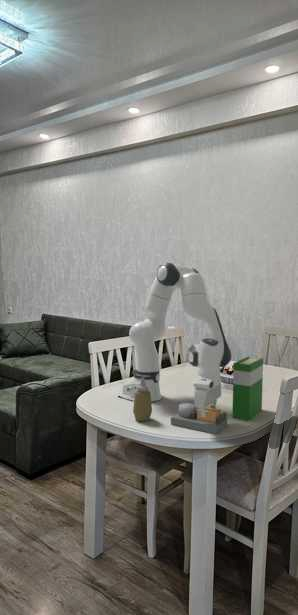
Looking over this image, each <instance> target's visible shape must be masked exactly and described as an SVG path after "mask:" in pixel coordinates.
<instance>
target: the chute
mask: <svg viewBox="0 0 298 615" xmlns="http://www.w3.org/2000/svg"><path fill="white" fill-rule="evenodd" d="M196 410H197V419H198V420H203V421H208V422H213V423H216V422H217V418H218V417H219V416H220V414H221V409H218V408H215V409H214V408H210V407H208V406H207V407H206V412H207V416H206V417H202V416H201V410H200V409H198V408H197V409H196Z"/></svg>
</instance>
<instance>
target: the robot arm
mask: <svg viewBox="0 0 298 615" xmlns="http://www.w3.org/2000/svg"><path fill="white" fill-rule="evenodd" d="M176 289H180V294H181V295H180V296H181V304H182V308H183V310H184V312H185V313H186V314H187V315H188V316H189V317H192V318H194V319H197V320H199V321H202V322H204V323H206V325H207V326H208V328H209V329H210V333H211V335H212V338H203V339H201V340H200V341H199V343H197V344H193V345H191V346H190V347H189V349H188V350H187V361H188V363H189V364H190V366H192V367H195V368H198V375H197V376H196V379H195V380H194V382H193V388H194V398H193V399H194V405H195V406H196V408H197V409H198V408H200V410H201V416H202V417H206V416H207V412H206V407H208V406H209V405H210V406H209V408H214V409H216V405H217V401H218V399H219V398H221V396H222V381H221V369H220V368H226V367H227V366H228V365H229V363H230V362H231V361H232V351H231V348H230V347H229V344H228V342H227V340H226V336H225V333H224V330H223V326H222V323H221V320H220V317H219V314H218V311H217V310H216V308H214V307H212V305H211V304H210V302H209V300H208V295H207V291H206V290H207V289H206V285H205V282H204V279H203V276H202V275H201V274H200V272H199V271H198V270H197V269H195V268H194V267H191V266H188V265H184V264H177V263H171V262H164V263H161V264H160V265H159V267H158V268H157V270H156V277H155V278H154V280H153V282H152V284H151V287H150V289H149V292H148V295H147V298H146V301H145V304H144V309H145V318H144V320H143V321H139V322H135V324H133V325H132V326H131V327H130V329H129V333H128V335H129V339H130V340H131V342H132V343H133V346H134V348H135V354H136V369H134V370H133V371H132V373H131V374H133V376H132V377H131V378H129V379H128V380H127V381H125V383H124V384H123V385H122V390H121V391H120V392H118V393H117V397H118V396H120V397H122V398H121V399H124V398H125V400H127V399H129V400H128V401H131V400H132V402H134V398H135V392H136V391H138V390H137V386H139V385H140V382H141V378H144V379H145V384H146V385H147V386H148V391H149V392H150V393H151V402H157V401H160V400H161V399H162V398H163V396H162V392H161V388H160V376H161V375H160V374H161V373H160V371H161V370H160V369H159V368H160V355H159V353H158V351H157V350H156V346H155V345H156V344H155V342H157V341H159V340H160V339H161V338H162V337H164V336H165V334H166V331H167V328H166V316H167V312H168V308H169V306H170V302H171V299H172V296H173V293H174V291H175V290H176ZM120 397H119V398H120Z"/></svg>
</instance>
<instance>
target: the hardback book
mask: <svg viewBox="0 0 298 615" xmlns="http://www.w3.org/2000/svg"><path fill="white" fill-rule="evenodd" d="M263 371H264V357H263V358H259V359H257V358H250V356H246V357H243V358H241V359H239V360H237V361H235V362H234V363H233V376H232V377H233V378H232V379H233V380H232V415H231V417H232V418H233V419H236V420H241V421H246V422H250V421H251V420H253V418H255V416H257V415H258V414H259V413H260V412H261V411H262V410H263V409H262V407H263V378H264V375H263ZM256 414H257V415H256Z"/></svg>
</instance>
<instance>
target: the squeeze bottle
mask: <svg viewBox="0 0 298 615" xmlns="http://www.w3.org/2000/svg"><path fill="white" fill-rule="evenodd" d="M137 390H138V391H136V392H135V398H134V401H133V408H132V411H133V415H134V419H135V420H136V421H137V422H149V420H150V418H151V415H152V412H153V409H152V407H153V405H152V401H151V393H150V392H149V391H148V386H147V385H146V384H145V379H144V378H141V382H140V385H139V386H137Z"/></svg>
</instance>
